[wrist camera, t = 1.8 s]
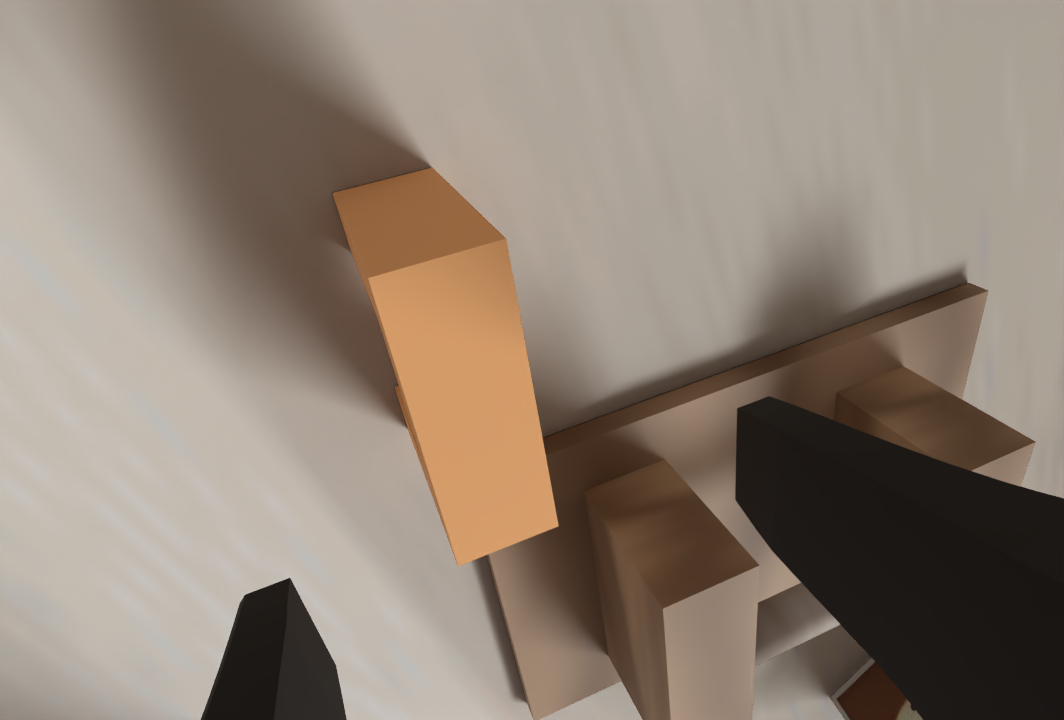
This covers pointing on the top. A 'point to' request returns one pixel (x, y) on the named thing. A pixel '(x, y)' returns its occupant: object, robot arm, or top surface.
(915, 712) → the food container
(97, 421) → the top surface
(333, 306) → the top surface
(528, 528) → the orange step-cut beam
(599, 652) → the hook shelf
